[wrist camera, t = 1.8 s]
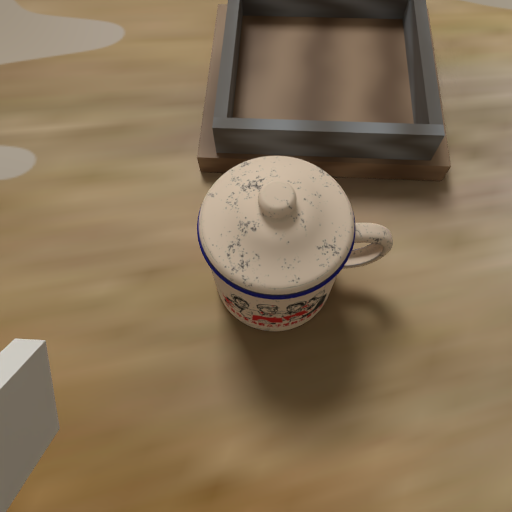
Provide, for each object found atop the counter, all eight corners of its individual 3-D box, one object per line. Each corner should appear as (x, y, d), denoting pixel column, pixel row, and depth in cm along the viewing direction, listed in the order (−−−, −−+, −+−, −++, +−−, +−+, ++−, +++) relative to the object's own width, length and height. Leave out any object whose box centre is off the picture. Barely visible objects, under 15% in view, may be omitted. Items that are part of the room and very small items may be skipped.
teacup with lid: (212, 338, 31) (184, 281, 20) (213, 225, 35) (190, 126, 24) (381, 332, 31) (442, 272, 20) (364, 219, 35) (408, 118, 24)
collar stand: (421, 27, 43) (439, -23, 38) (441, 180, 36) (467, 141, 31) (220, 22, 44) (214, -27, 39) (200, 171, 37) (191, 132, 32)
